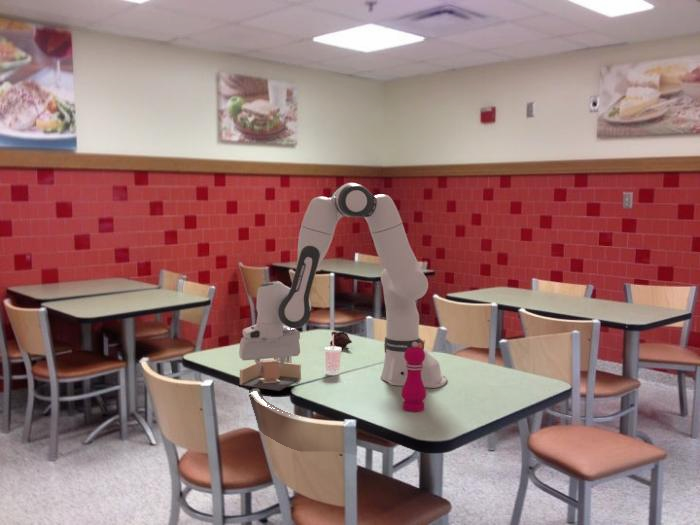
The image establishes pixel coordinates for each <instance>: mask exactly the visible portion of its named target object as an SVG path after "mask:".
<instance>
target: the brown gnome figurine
mask: <svg viewBox="0 0 700 525" xmlns="http://www.w3.org/2000/svg"><path fill="white" fill-rule="evenodd" d="M333 334H334V346H336V347H341V348H342V349H346V347H347V346H348V345H350V344H351V343H353V340H351V339H350V336H349V334H348V333H346V332H345V331H339V332H337V331H332V332H331V336H332V337H333ZM329 344H330V346H332V340H331V341H330V342H329Z"/></svg>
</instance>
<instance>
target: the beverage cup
mask: <svg viewBox="0 0 700 525" xmlns="http://www.w3.org/2000/svg"><path fill="white" fill-rule="evenodd" d="M331 341H332V345H329V346H325V347H324V348H323V349H324V354H325V373H326V375H328V376H337V375H340V369H341V368H340V367H341V355H342V351H343V350H342V349H343V348H341V347H336V346H335V345H334V334H333V336H332V340H331Z"/></svg>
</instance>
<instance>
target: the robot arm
mask: <svg viewBox="0 0 700 525" xmlns="http://www.w3.org/2000/svg"><path fill="white" fill-rule="evenodd" d="M344 217H346V218H364V219H365V221H366V223H367V225H368V229H369V232H370V235H371V237H372V240H373V245H374V248H375V250H376V253H377V256H378V257H379V259H380V260H381V262H382V264H383V266H384V268H383V270H382V272H381V274H380V281H381V286H382V289H383V298H384V299H383V300H384V305H385V312H386V313H385V314H386V322H385V323H386V325H385V326H386V327H385V329H386V333H385V334H386V335H385V337H384V344H383V345H384V346H383V349H384V354H385V355H384V362H383V367H382V371H381V375H380V380H383V381H385V382H387V383H388V384H389V385H391V386H400V387H401V386H402V387H403V386H404V384H405V382H406V379H407V373H408V371H407V368H406V363H407V361H406V360H405V358H404V354H405V351H406V350H407V349H408V348H409V347H413V346H412V343H413V342H417V343H418V346H417V347H419V348H421V349H423V351H424V353H425V359H424V361H423V362H422V363H423V369H422V370H421V379H422V382H423V385H424V387H425V388H429V389H437V388H441V387H443V386H444V385H445V384H447V383H448V377H447V376H446V375H445V374H442V370H441V366H440V363H439V361H438V360H437V359H436V358H435V357H434V356H432V355H431V354H430V353H429V352H428V351H427V350H425V344H426V340H425V339H424V340H422V339H421V338H420V337H419V336H420V334H419V333H420V332H419V330H420V314H419V311H418V308H417V304H416V300H419V299H421V298H423V297H424V296H425V295H426V293H427V291H428V289H429V281H428V278H427V277H426V275H425V273H424V271H423V270H422V267H421V265H420V263H419V262H418V260H417V258H416V256H415V253H414V251H413V249H412V247H411V244H410V243H409V242H410V241H409V240H408V236H407V233H406V231H405V227H404V224H403V221H402V218H401V215H400V213H399V210H398V208H397V206H396V204H395V202H394V200H393V199H392V197H391V196H389V195H388V194H381V193H380V194H375V195H374V194H373V193H372V192H370V190H369V189H368V188H366V186H363V185H362V184H359V183H357V182H356V183H355V182H346V183H344V184H342V185H340V186H338V187H337V188H336V189H335V190H334V191H333V192H332V193H331V194H330V195H329V196H328V197H327V196H316V197H314V198H312V199H311V201H310V202H309V204H308V206H307V209H306V211H305V213H304V214H303V219H302V221H301V225H300V230H299V233H298V239H297V240H298V241H297V263H296V267H295V272H294V276H293V279H292V282H291V286H290V287H289V286H288V285H285V284H284V283H283V282H281V281H279V280H272V281H267V282H265V283H261V284H260V285H259V286H258V288H257V292H256V306H255V307H256V312H257V317H256V324H254V325H251V326H248V327H246V328H243V329H242V336H243V337H241V339H240V341H239V342H240V343H239V349H238V350H239V352H238V355H239V356H238V357H239V358H240V359H241V361H254V363H256V364H257V366H258V372H263V366H260V364H259V363H258V362H260V361H261V360H269V359H274V358H279V357H280V359H281V361H280V370H282V365H283V364H284V362H285V357H290V356H292V357H298V356H299V355H300V353H301V348H300V340H301V334H300V330H298V328H300V327H303V326H304V325H306V324H307V323H308V321H309V319H310V317H311V311H312V301H311V297H310V294H311V290H312V288H313V283H314V280H315V276H316V272H317V270H318V269H319V266H320V264H321V263H322V261H323V259H324V258H325V257H326V255H327V253H328V251H329V248H330V246H331V245H332V240H333V238H334V236H335V230H336V227H337V225H338V223H339V220H340V219H342V218H344ZM283 324H285V325H286V326H288V327H291V328H292V329H283Z"/></svg>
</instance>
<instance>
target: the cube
mask: <svg viewBox="0 0 700 525" xmlns="http://www.w3.org/2000/svg"><path fill="white" fill-rule="evenodd" d="M263 360H264V361H261V360H260V361H261V366H263V372H261V376H262V377H263V378H264V379H272V378H280V363H279V362H278V361H277V360H274V359H263Z"/></svg>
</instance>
